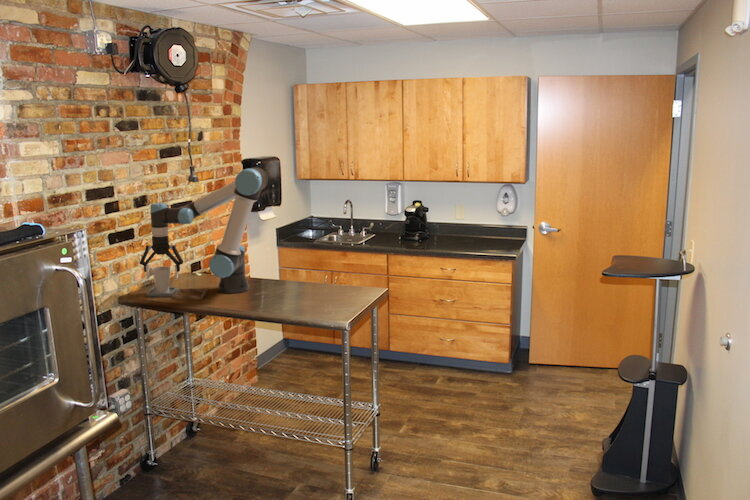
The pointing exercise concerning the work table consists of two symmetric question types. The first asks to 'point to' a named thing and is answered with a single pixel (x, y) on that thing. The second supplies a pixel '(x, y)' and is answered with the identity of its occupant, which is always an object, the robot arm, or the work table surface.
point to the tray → (153, 293)
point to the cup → (162, 279)
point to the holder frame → (190, 296)
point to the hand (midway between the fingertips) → (162, 278)
